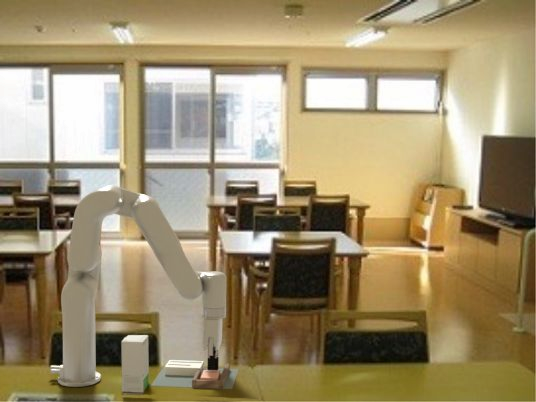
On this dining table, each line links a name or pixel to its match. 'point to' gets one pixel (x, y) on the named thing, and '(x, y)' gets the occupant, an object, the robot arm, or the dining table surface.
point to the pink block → (210, 375)
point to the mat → (190, 379)
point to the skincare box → (135, 364)
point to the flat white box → (183, 367)
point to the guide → (211, 383)
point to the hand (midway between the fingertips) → (212, 369)
